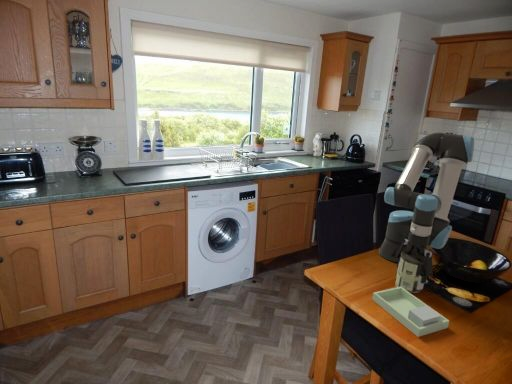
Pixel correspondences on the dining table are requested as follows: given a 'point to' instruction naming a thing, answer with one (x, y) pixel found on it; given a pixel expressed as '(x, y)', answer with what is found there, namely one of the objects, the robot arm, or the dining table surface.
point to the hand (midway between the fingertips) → (409, 282)
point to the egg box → (423, 316)
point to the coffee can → (409, 272)
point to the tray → (406, 309)
